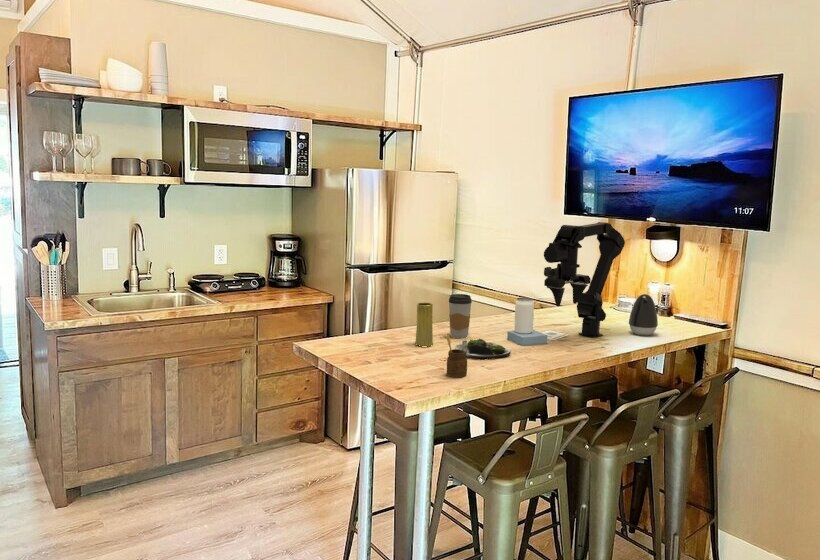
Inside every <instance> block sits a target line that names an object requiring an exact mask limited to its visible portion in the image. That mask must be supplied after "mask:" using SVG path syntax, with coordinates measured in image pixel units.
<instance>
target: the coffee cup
mask: <svg viewBox="0 0 820 560" xmlns="http://www.w3.org/2000/svg"><path fill="white" fill-rule="evenodd" d="M472 303H473V302H472V297H471V295H469V294H465V293H454V294H452V293H451V294H450V295H449V298H448V306H449V307H448V308H449V309H448V310H449V315H448V317H449V318H448V319H449V336H450V337H451V336H452V337H451V338H453V337H454V338H453V339H467V338H468V337H469V336H468V335H469V329H470V322H471V321H470V320H471V307H472ZM466 337H467V338H466Z"/></svg>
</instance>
